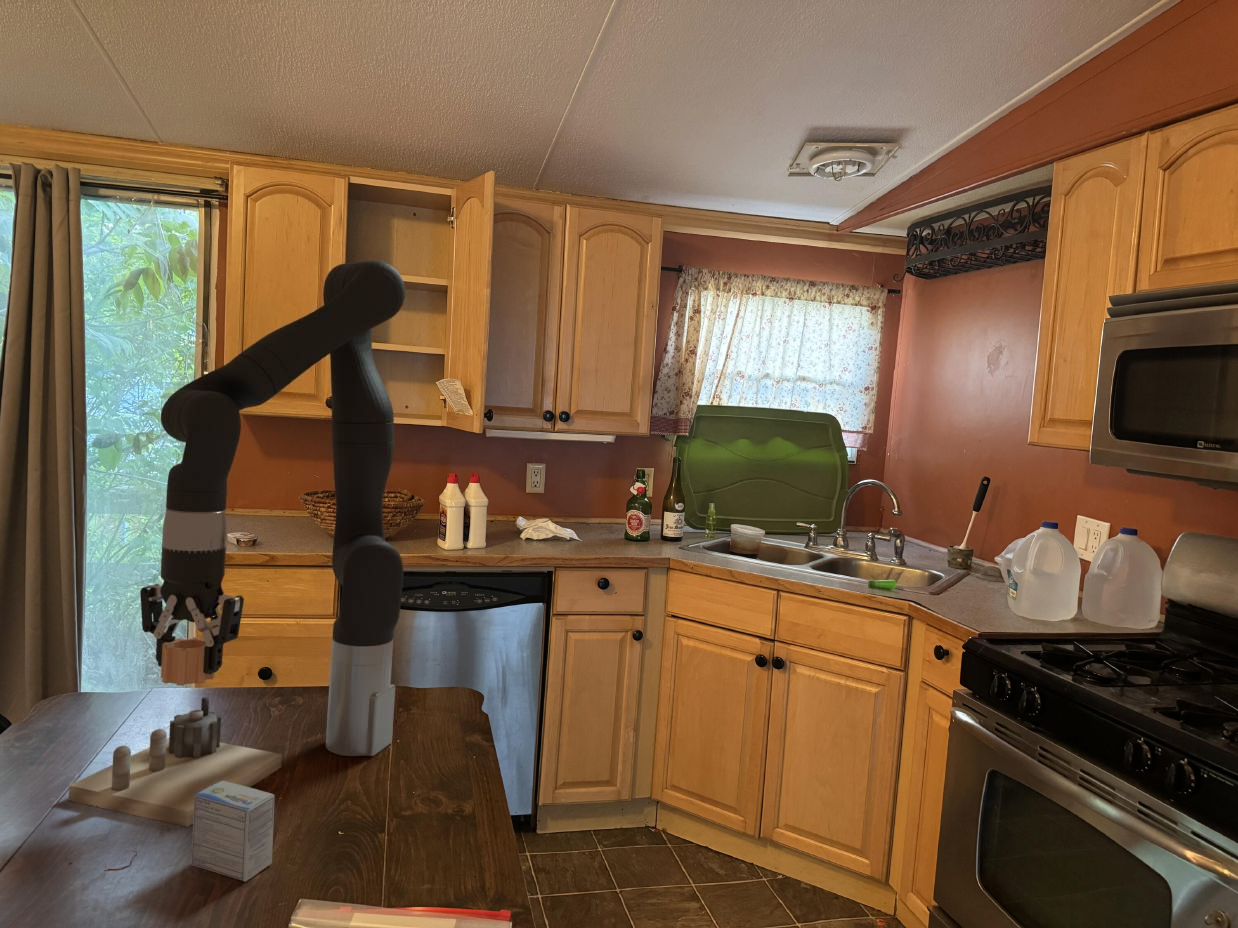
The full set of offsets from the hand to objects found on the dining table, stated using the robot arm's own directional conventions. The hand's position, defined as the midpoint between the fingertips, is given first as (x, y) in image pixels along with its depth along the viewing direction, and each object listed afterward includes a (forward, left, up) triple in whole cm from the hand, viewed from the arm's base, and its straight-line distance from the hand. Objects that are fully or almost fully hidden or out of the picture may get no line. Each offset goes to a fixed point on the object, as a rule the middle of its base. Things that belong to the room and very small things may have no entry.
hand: (188, 668), depth 112 cm
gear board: (+3, -4, -18) cm, 18 cm away
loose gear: (0, 0, -1) cm, 1 cm away
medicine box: (-16, +11, -18) cm, 27 cm away
